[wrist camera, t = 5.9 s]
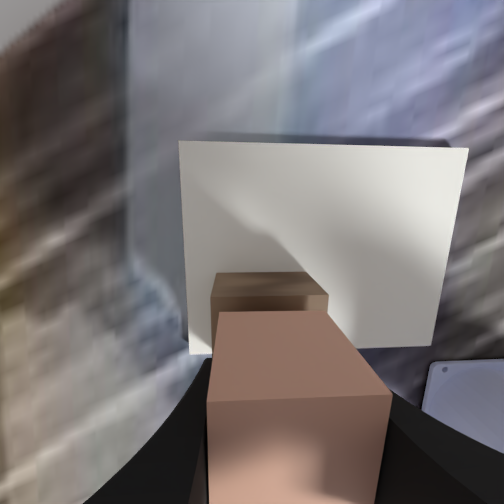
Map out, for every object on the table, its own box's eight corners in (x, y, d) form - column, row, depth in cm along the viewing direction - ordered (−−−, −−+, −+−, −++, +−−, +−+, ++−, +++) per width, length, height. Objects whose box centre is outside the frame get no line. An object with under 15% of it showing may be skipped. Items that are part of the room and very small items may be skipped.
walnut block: (306, 271, 16) (329, 294, 12) (301, 350, 17) (320, 394, 13) (216, 272, 16) (210, 297, 12) (218, 353, 17) (213, 399, 13)
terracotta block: (325, 310, 11) (392, 394, 6) (317, 398, 12) (369, 528, 8) (219, 311, 11) (206, 402, 6) (220, 403, 12) (210, 541, 7)
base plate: (454, 151, 16) (469, 148, 15) (420, 338, 19) (430, 345, 18) (181, 144, 15) (178, 140, 14) (192, 346, 18) (189, 354, 17)
